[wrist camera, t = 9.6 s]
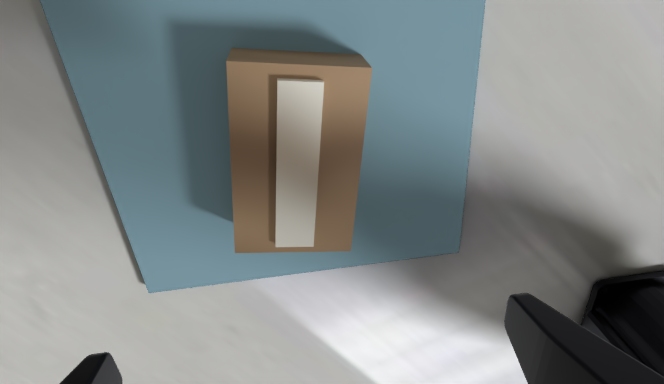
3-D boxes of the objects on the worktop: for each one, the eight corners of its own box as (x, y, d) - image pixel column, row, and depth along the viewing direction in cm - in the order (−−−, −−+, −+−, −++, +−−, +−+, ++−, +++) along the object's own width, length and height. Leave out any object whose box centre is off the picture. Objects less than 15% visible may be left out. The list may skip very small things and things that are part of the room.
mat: (485, -53, 16) (491, -53, 16) (455, 246, 23) (459, 252, 23) (40, -19, 15) (33, -17, 15) (150, 286, 22) (148, 293, 22)
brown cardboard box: (343, 223, 21) (352, 255, 19) (238, 224, 20) (234, 257, 18) (360, 54, 17) (374, 69, 15) (231, 47, 16) (225, 63, 14)
